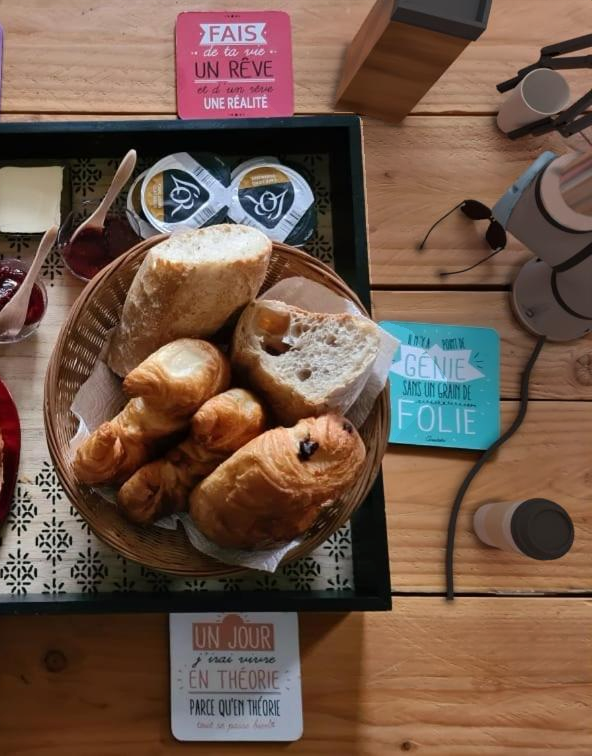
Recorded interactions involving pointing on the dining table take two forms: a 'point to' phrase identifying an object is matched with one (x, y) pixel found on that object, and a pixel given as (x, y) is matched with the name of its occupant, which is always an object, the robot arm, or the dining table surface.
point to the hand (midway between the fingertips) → (503, 113)
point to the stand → (393, 65)
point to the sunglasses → (493, 234)
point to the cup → (534, 99)
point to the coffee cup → (526, 528)
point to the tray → (445, 16)
